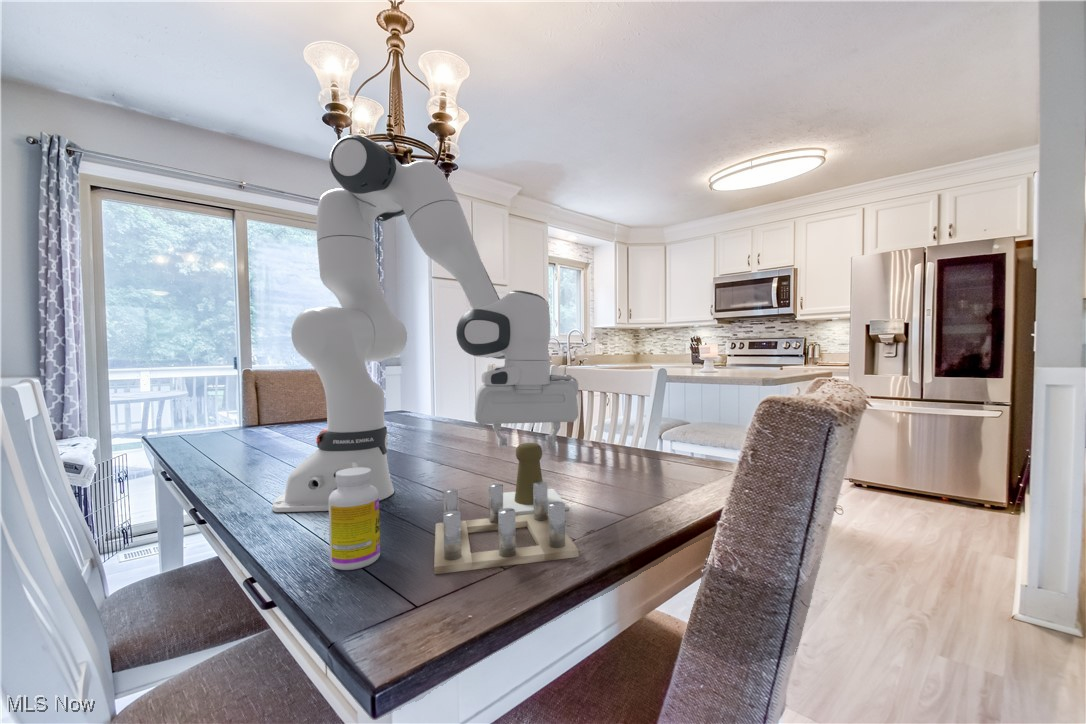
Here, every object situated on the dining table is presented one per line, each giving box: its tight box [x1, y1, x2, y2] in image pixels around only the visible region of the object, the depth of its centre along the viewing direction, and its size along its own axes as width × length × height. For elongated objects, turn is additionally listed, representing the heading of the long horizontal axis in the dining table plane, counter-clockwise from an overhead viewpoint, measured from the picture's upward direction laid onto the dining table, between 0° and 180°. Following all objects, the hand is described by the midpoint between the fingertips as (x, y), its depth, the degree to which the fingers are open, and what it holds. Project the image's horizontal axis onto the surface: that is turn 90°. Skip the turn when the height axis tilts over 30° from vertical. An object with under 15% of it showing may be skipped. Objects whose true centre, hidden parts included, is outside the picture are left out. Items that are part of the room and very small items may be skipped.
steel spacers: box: [442, 480, 566, 560], centre depth 70 cm, size 17×15×6 cm
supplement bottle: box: [328, 467, 381, 571], centre depth 64 cm, size 7×7×13 cm
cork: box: [514, 442, 544, 505], centre depth 88 cm, size 6×6×11 cm
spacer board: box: [433, 513, 580, 575], centre depth 70 cm, size 20×16×1 cm
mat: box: [503, 488, 570, 516], centre depth 88 cm, size 12×12×1 cm
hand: (526, 445), depth 88 cm, fingers open, 8 cm apart
